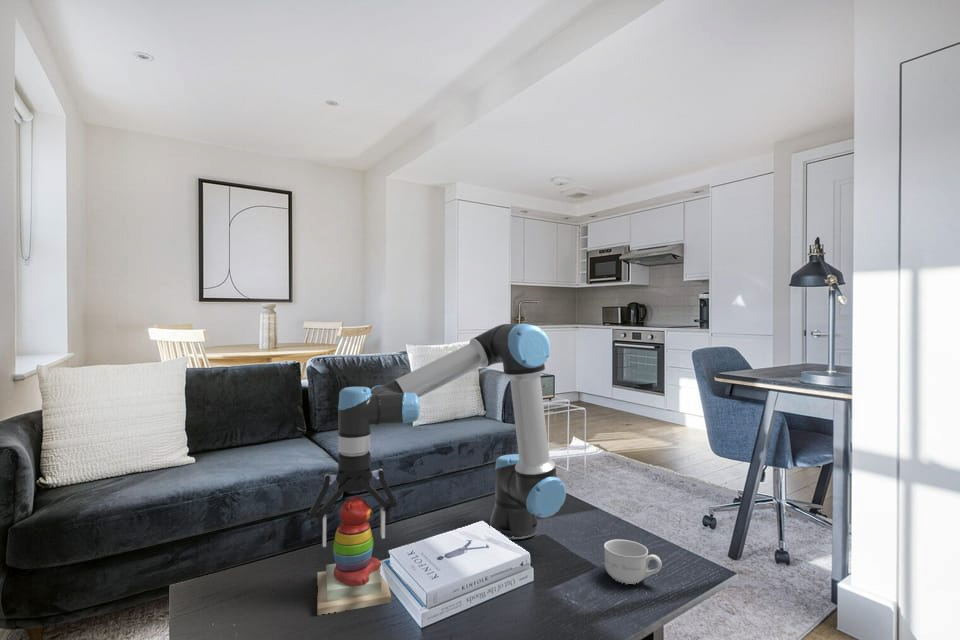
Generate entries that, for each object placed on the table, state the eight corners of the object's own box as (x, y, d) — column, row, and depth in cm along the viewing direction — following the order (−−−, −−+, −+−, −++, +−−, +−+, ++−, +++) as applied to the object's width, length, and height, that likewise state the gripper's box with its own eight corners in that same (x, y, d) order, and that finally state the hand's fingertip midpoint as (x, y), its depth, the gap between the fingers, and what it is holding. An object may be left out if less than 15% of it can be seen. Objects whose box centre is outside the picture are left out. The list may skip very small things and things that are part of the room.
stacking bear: (364, 587, 108) (365, 509, 108) (323, 582, 110) (324, 505, 110) (383, 564, 118) (384, 492, 118) (346, 559, 120) (346, 489, 120)
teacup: (596, 578, 120) (596, 546, 120) (616, 562, 128) (616, 533, 128) (649, 600, 111) (650, 566, 111) (667, 582, 119) (668, 550, 119)
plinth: (382, 568, 124) (382, 552, 124) (391, 602, 109) (391, 585, 109) (317, 578, 119) (317, 562, 119) (317, 615, 103) (317, 597, 104)
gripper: (403, 443, 122) (403, 526, 121) (299, 452, 113) (299, 540, 113) (408, 451, 114) (408, 539, 114) (298, 461, 106) (298, 555, 106)
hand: (354, 540), depth 114 cm, fingers open, 13 cm apart
